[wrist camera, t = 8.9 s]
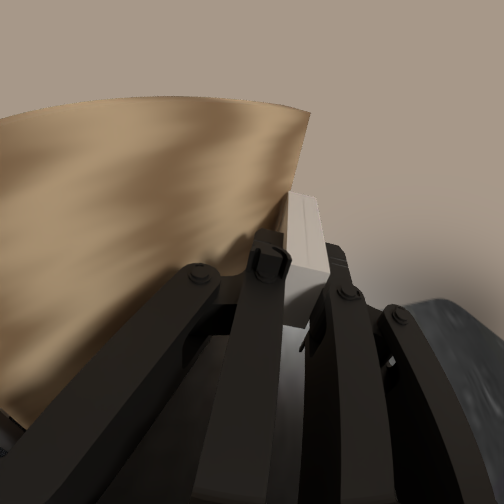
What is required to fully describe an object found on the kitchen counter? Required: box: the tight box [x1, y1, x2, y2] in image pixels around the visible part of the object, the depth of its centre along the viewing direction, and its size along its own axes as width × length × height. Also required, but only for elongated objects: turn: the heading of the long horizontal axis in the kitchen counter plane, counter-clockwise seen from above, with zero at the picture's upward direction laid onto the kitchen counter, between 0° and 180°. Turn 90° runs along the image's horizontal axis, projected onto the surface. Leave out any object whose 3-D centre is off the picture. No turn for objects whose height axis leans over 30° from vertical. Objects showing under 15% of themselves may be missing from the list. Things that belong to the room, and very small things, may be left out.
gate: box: [0, 96, 310, 430], centre depth 10 cm, size 16×3×12 cm, turn 141°
